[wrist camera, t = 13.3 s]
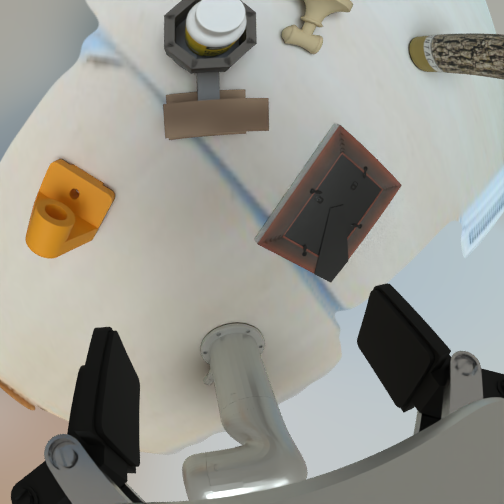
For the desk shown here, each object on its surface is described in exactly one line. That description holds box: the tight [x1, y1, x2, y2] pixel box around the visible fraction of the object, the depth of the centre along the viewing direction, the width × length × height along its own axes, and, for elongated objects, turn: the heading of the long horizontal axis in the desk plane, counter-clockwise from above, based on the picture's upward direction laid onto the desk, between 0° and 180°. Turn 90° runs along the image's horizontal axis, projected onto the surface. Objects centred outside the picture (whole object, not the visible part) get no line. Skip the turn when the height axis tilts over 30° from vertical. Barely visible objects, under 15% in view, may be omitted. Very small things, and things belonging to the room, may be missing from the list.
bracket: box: [26, 159, 115, 258], centre depth 30 cm, size 11×7×12 cm, turn 51°
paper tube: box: [409, 34, 504, 79], centre depth 24 cm, size 7×7×25 cm
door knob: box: [282, 0, 353, 54], centre depth 28 cm, size 10×8×8 cm
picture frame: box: [255, 124, 401, 282], centre depth 45 cm, size 16×2×22 cm
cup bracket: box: [163, 0, 269, 140], centre depth 26 cm, size 17×10×14 cm, turn 1°
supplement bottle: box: [185, 0, 247, 58], centre depth 21 cm, size 5×5×10 cm
